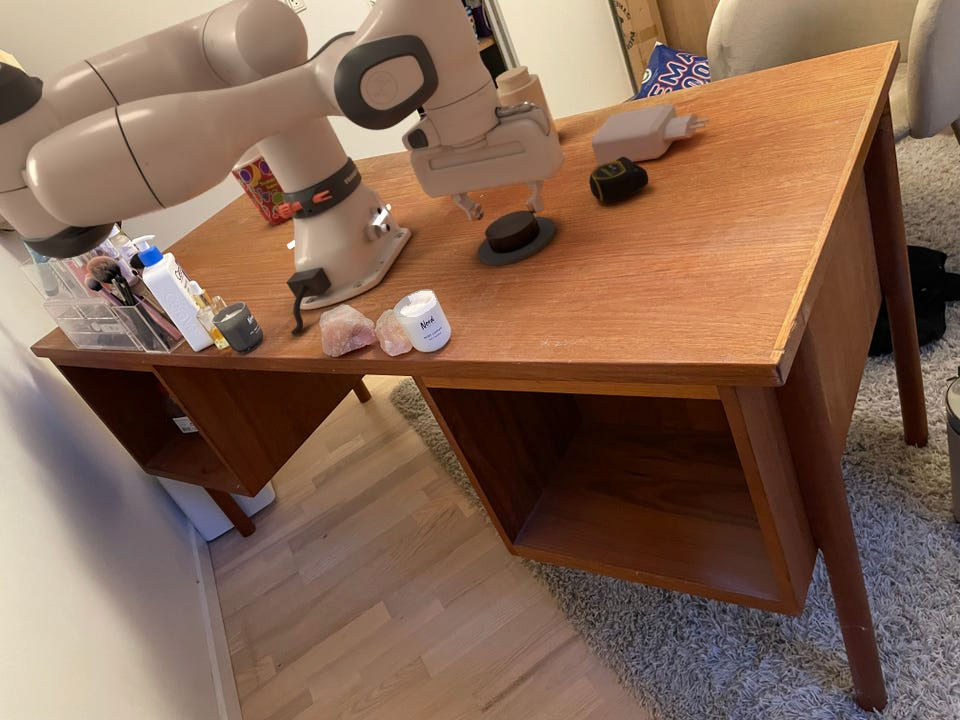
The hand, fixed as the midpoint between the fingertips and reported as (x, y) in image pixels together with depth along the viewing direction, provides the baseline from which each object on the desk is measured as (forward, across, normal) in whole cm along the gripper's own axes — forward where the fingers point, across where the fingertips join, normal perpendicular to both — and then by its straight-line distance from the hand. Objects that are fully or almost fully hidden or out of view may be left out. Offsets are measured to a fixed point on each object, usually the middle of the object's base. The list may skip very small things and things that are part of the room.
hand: (506, 215), depth 90 cm
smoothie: (+4, +69, -20) cm, 72 cm away
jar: (+4, +12, -32) cm, 34 cm away
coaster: (+4, 0, 0) cm, 4 cm away
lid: (+2, 0, 0) cm, 2 cm away
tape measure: (+4, -12, -10) cm, 16 cm away
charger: (+4, -13, -22) cm, 26 cm away
